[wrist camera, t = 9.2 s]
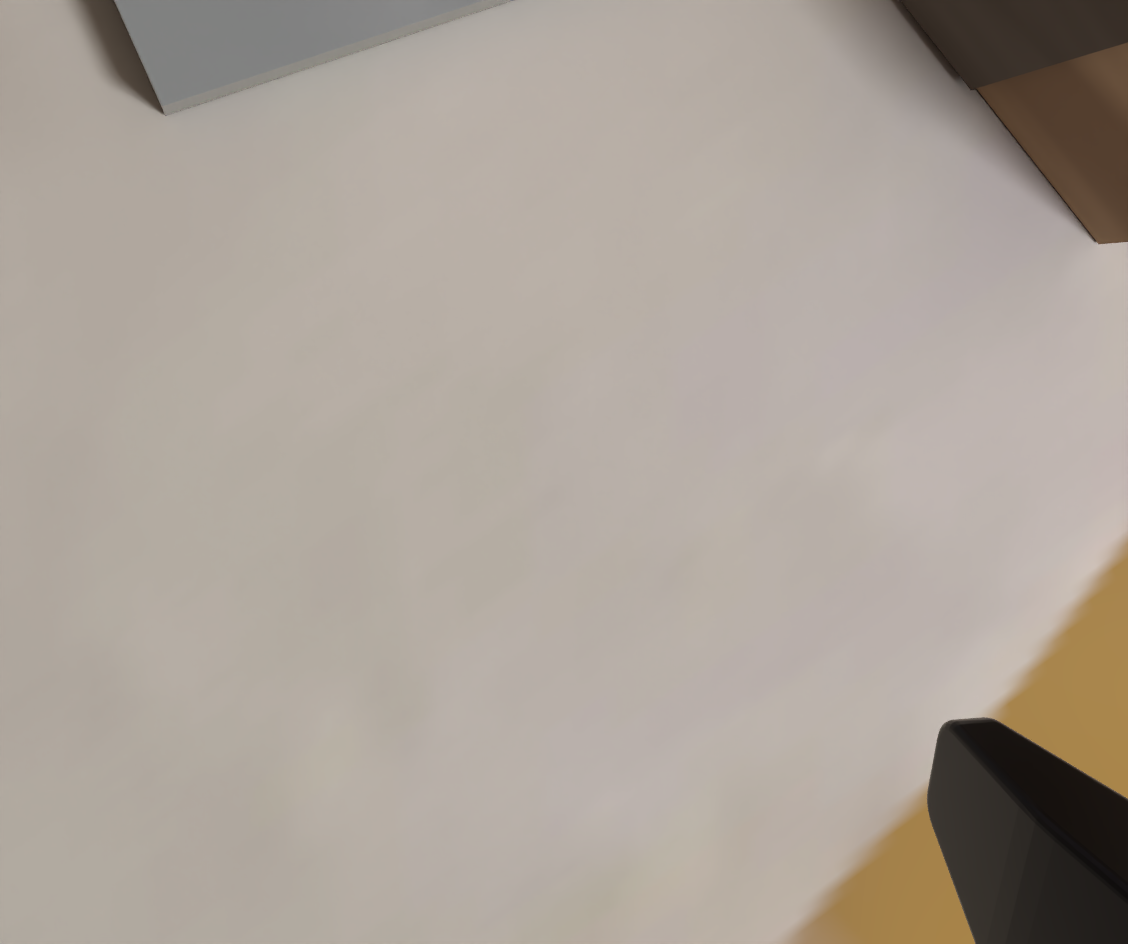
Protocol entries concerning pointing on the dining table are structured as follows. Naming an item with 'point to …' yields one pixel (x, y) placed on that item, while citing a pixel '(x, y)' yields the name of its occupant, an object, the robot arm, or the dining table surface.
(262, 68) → the coaster
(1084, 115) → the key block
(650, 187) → the dining table surface
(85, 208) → the dining table surface
